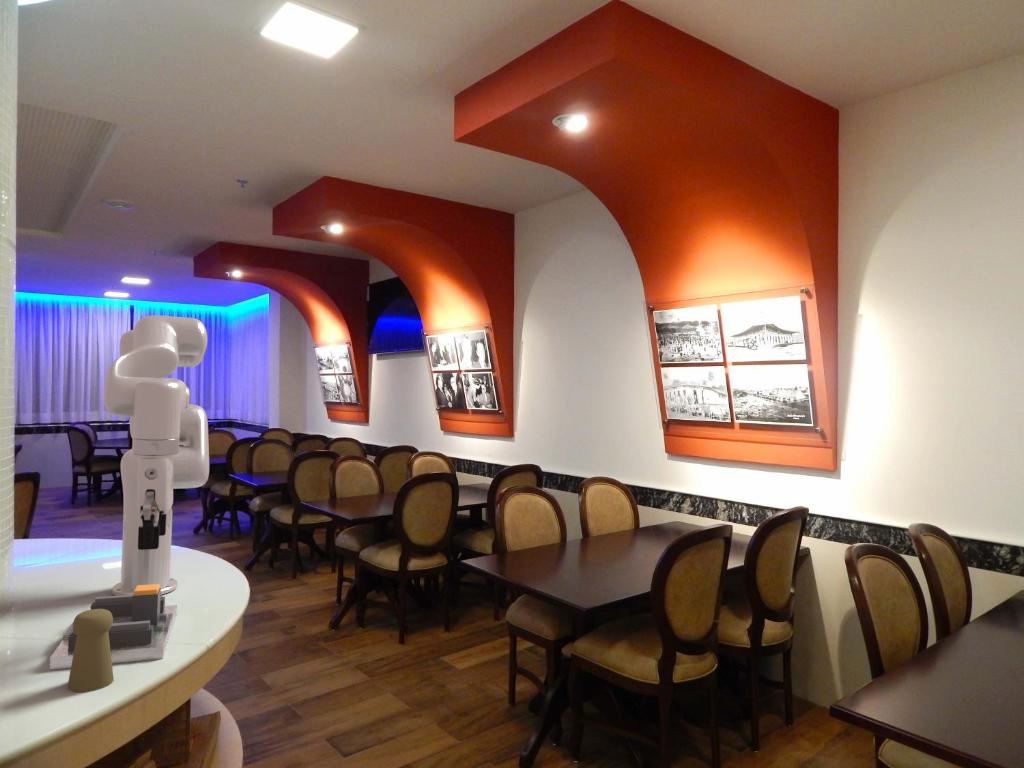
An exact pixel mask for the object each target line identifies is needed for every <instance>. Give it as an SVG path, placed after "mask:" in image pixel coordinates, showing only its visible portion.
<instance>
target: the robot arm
mask: <svg viewBox="0 0 1024 768" xmlns="http://www.w3.org/2000/svg"><path fill="white" fill-rule="evenodd" d="M207 332H208V331H207V329H206V326H205V325H204V323H203V322H202V321H201V320H199V319H197V318H194V317H184V316H173V315H172V316H171V315H156V314H155V315H148V316H145V317H142V318H140V319H139V320H138V321H137V322H136V323H135V325H134V328H133V329H131V330H128V331H125V332H124V333H122V335H121V337H120V339H119V347H118V349H119V357H117V358H115V359H114V360H113V361H112V362H111V364H110V365H109V366H108V369H107V371H106V375H105V378H104V379H105V381H104V389H103V402H104V403H103V404H104V406H105V409H106V411H107V412H108V413H109V414H110V415H113V416H114V417H115V416H116V417H121V418H122V417H123V418H124V417H125V418H127V417H129V430H130V431H129V432H130V437H131V438H132V447H131V449H129V450H127V451H125V453H124V454H123V456H122V457H121V460H120V476H121V483H122V494H123V514H122V515H123V519H122V522H123V523H122V545H121V546H122V547H121V571H120V572H121V573H120V581H119V583H116V584H114V585H113V586H112V589H111V590H112V591H111V593H112V595H113V596H119V595H133V594H134V591H135V589H136V587H137V585H150V584H160V588H161V593H162V595H165V594H167V593H170V592H173V591H174V590H176V589H177V588H178V580H176V578H172V577H171V557H172V556H171V555H172V554H171V553H172V530H173V508H172V507H173V504H174V489H175V490H176V489H194V488H199V487H202V486H204V485H206V483H207V481H208V480H209V479H208V478H209V474H210V453H209V450H210V447H209V424H208V417H207V414H206V410H205V409H204V408H203V407H202V406H200V405H197V404H190V401H191V400H190V399H191V396H190V395H191V394H190V393H191V392H190V388H189V387H188V386H187V384H185V382H184V381H182V380H181V379H178V378H172V377H171V378H168V376H170V375H171V374H173V373H174V371H176V369H177V368H178V367H179V368H181V367H182V368H192V367H196V366H198V365H199V364H201V362H202V361H203V358H204V356H205V353H206V350H207V345H208V334H207Z"/></svg>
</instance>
